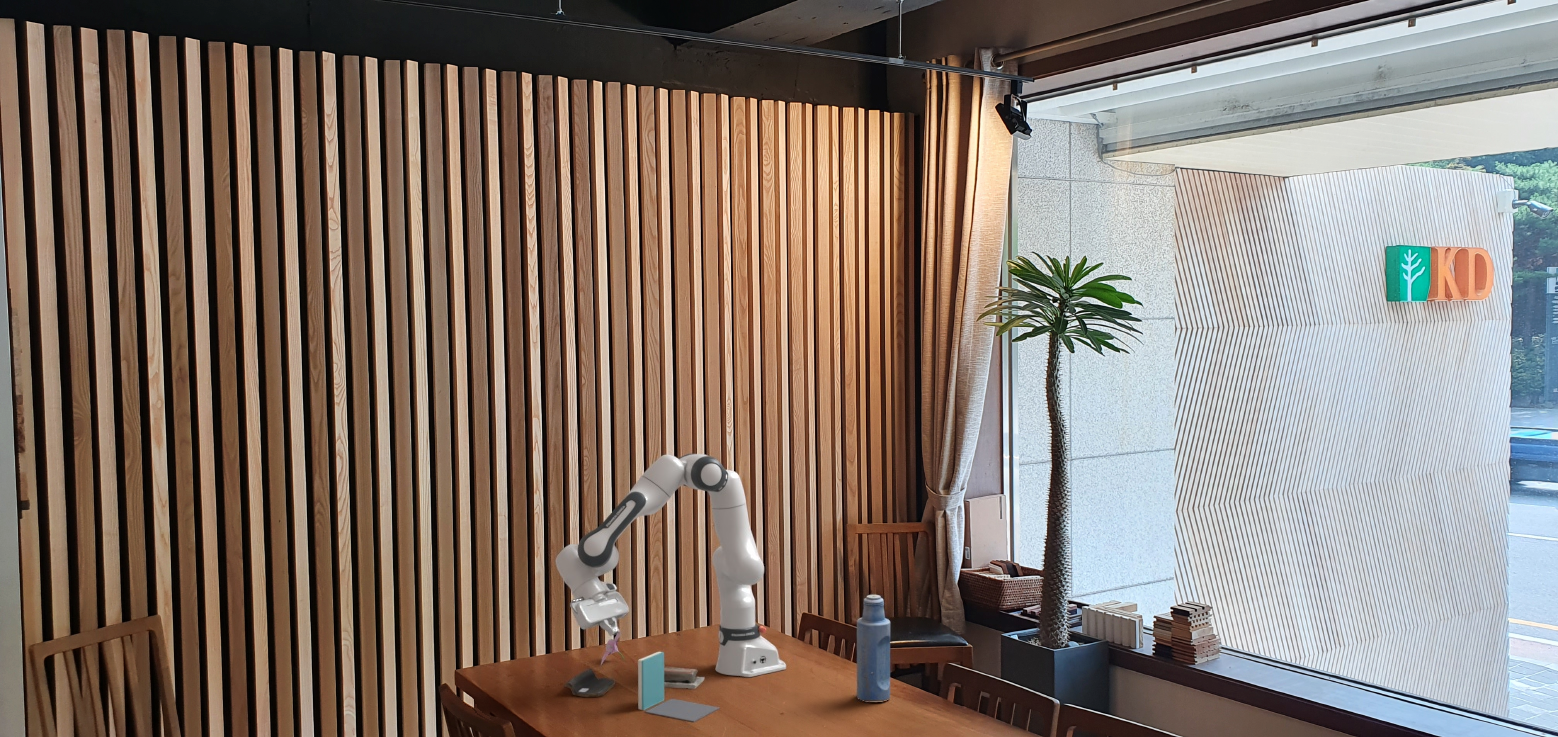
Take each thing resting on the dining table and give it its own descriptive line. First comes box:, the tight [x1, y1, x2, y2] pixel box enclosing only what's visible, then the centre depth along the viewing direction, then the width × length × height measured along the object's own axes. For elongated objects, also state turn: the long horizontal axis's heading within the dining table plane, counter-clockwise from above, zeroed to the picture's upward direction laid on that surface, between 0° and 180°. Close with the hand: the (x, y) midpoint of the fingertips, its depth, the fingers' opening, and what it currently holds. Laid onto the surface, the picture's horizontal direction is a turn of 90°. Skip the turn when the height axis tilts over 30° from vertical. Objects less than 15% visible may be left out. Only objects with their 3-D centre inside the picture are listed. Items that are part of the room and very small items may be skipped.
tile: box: [637, 651, 665, 711], centre depth 313 cm, size 2×10×14 cm, turn 150°
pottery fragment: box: [564, 667, 616, 698], centre depth 327 cm, size 15×12×4 cm
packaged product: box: [664, 666, 705, 690], centre depth 335 cm, size 18×5×10 cm
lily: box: [600, 630, 626, 666], centre depth 358 cm, size 12×12×10 cm
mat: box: [644, 698, 721, 723], centre depth 308 cm, size 16×13×1 cm
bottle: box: [856, 594, 891, 701], centre depth 318 cm, size 10×10×30 cm
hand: (615, 633), depth 319 cm, fingers closed
